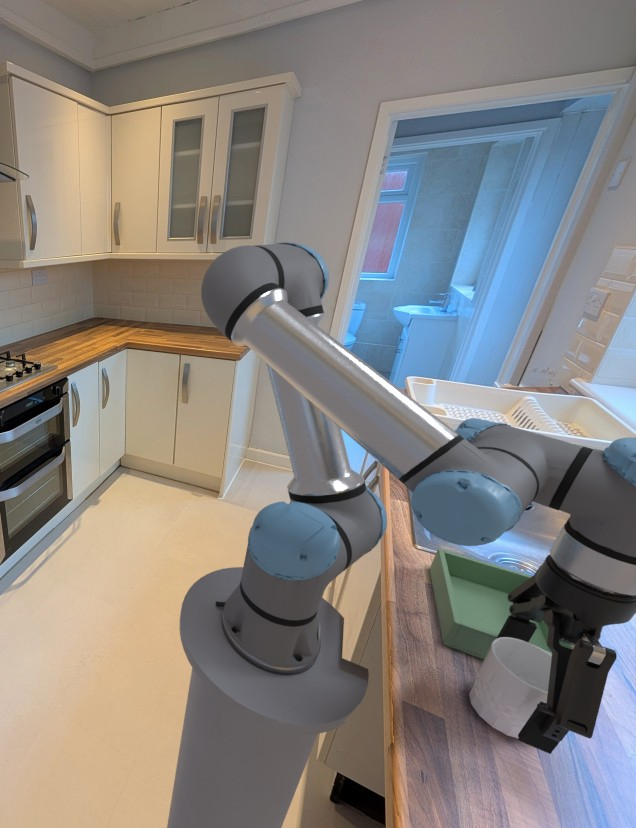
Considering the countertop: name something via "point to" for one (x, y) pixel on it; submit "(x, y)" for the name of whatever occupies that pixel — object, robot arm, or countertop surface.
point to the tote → (476, 602)
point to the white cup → (511, 684)
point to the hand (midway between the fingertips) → (517, 694)
